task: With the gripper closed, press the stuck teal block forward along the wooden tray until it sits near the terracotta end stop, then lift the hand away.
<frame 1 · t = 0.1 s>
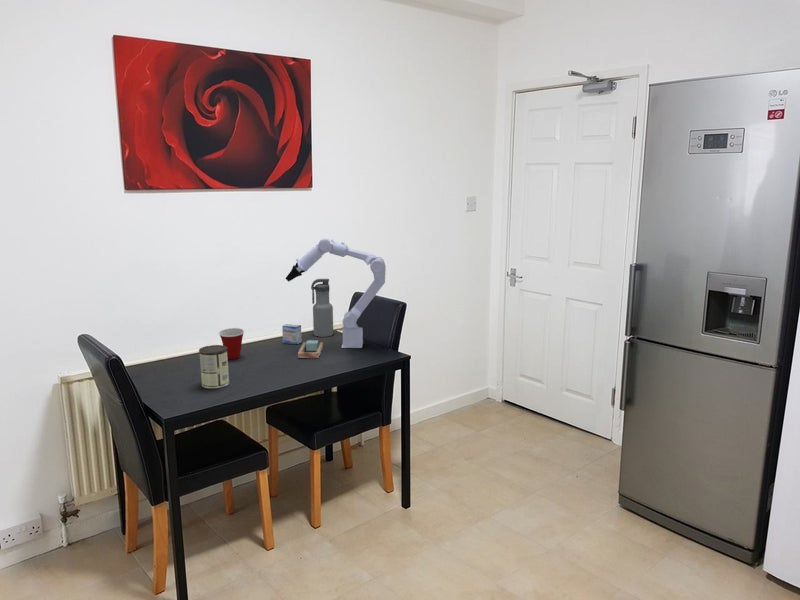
hand: (288, 278, 284), 32 cm above the table, tool tilted 50°, fingers open, 7 cm apart
medicine box: (292, 343, 296), on the table
wooden tray: (311, 352, 280), on the table
plastic cup: (233, 358, 273), on the table
coffee can: (215, 384, 238), on the table
jammed block: (312, 345, 284), point 2 cm above the table, slide at 0.0 cm
water bottle: (323, 335, 311), on the table
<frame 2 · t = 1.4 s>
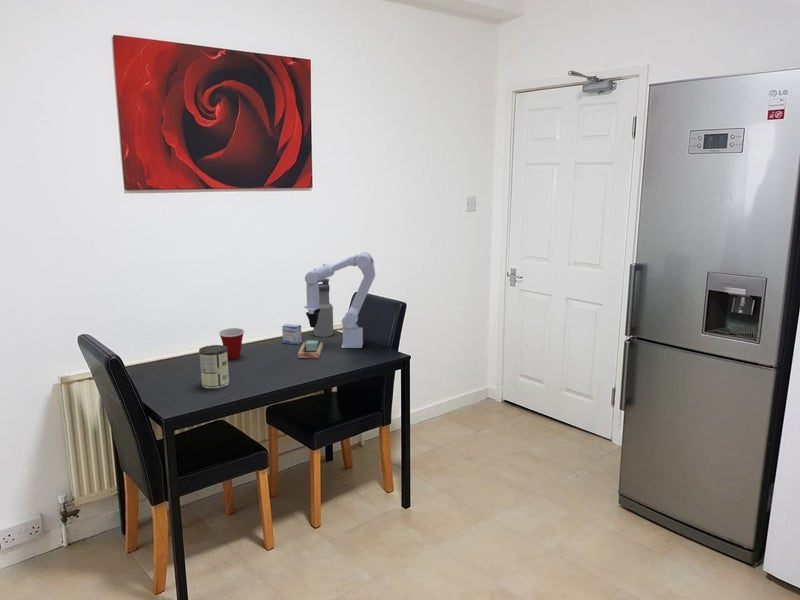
hand: (313, 325, 290), 9 cm above the table, tool pointing down, fingers open, 5 cm apart
nothing on the table moved.
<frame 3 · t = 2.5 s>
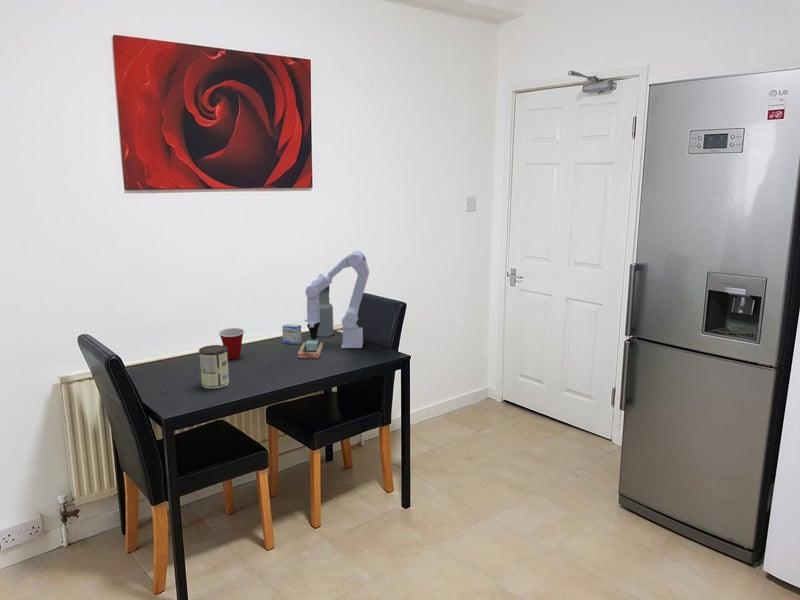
hand: (313, 338, 291), 3 cm above the table, tool pointing down, fingers closed
nothing on the table moved.
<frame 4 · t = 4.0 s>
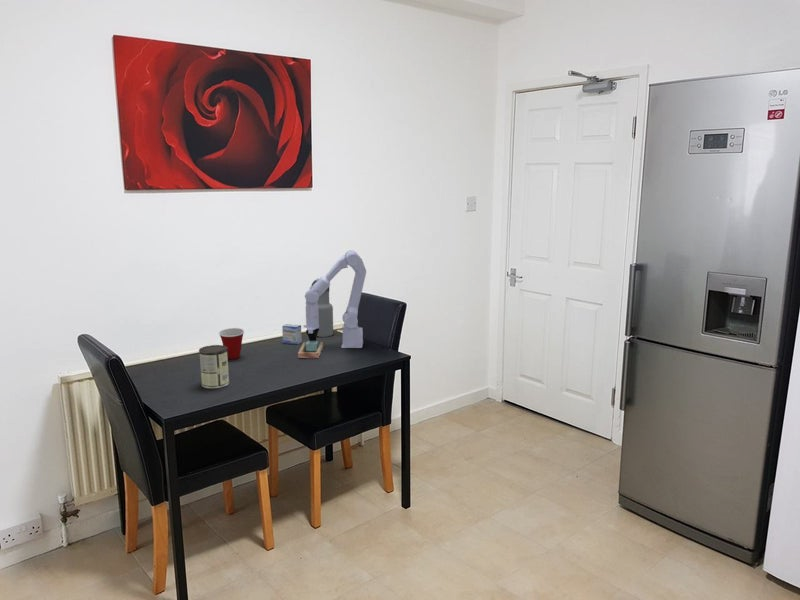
hand: (313, 344, 288), 1 cm above the table, tool pointing down, fingers closed
jammed block: (312, 345, 284), point 2 cm above the table, slide at 0.7 cm, touching gripper
everything else where it was.
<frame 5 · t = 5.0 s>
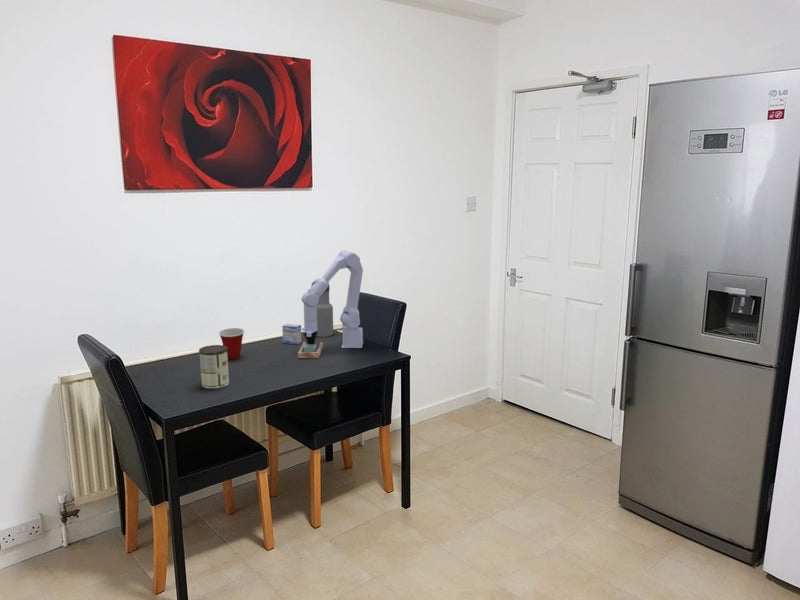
hand: (311, 348, 282), 1 cm above the table, tool pointing down, fingers closed
jammed block: (310, 349, 278), point 2 cm above the table, slide at 6.4 cm, touching gripper
everything else where it was.
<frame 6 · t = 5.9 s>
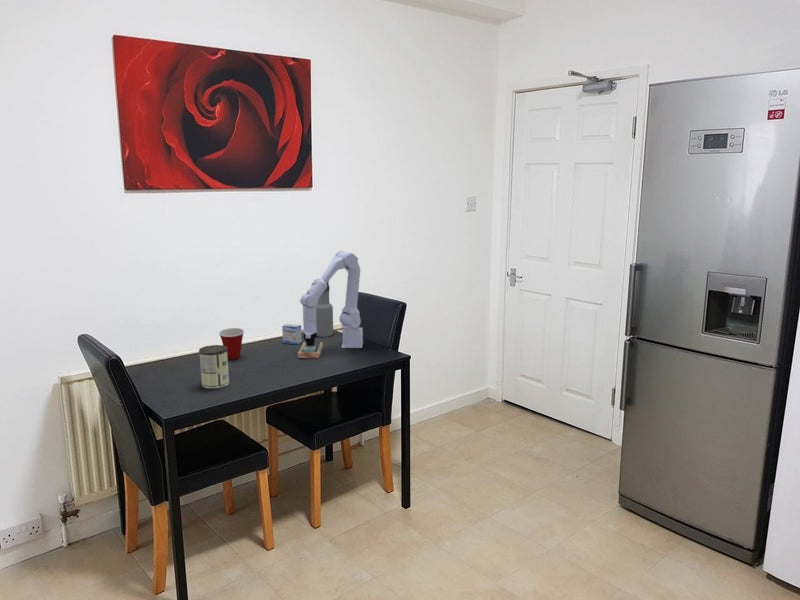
hand: (310, 350, 279), 1 cm above the table, tool pointing down, fingers closed
jammed block: (309, 351, 275), point 2 cm above the table, slide at 9.3 cm, touching gripper
everything else where it was.
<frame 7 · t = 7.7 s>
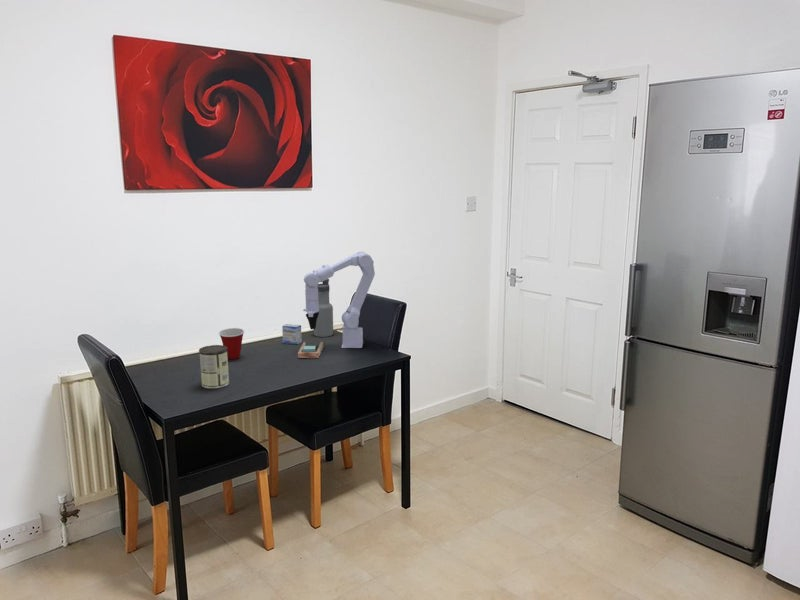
hand: (313, 329, 284), 9 cm above the table, tool pointing down, fingers closed
jammed block: (309, 351, 275), point 2 cm above the table, slide at 9.3 cm
everything else where it was.
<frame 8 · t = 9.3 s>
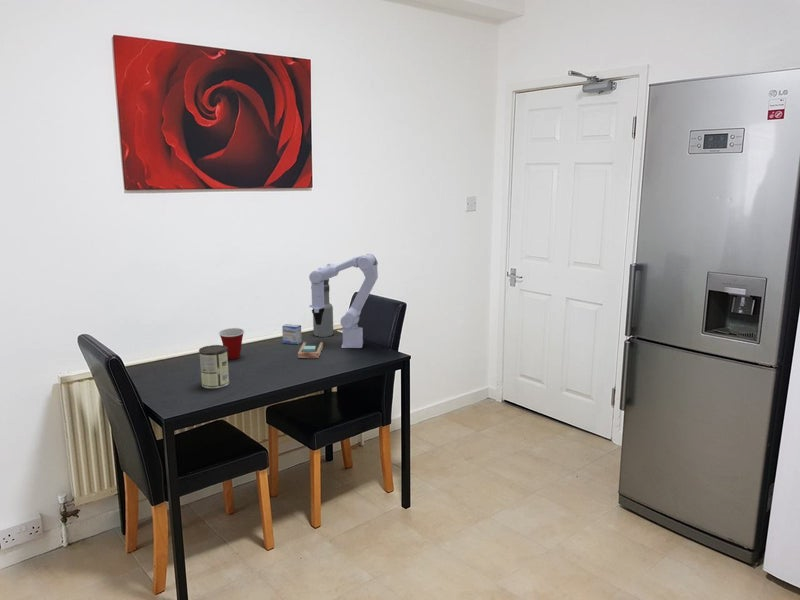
hand: (318, 324, 293), 9 cm above the table, tool pointing down, fingers closed
nothing on the table moved.
at the end: jammed block slide at 9.3 cm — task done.
